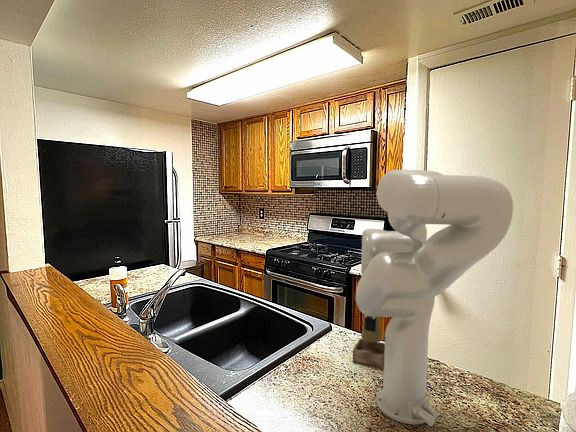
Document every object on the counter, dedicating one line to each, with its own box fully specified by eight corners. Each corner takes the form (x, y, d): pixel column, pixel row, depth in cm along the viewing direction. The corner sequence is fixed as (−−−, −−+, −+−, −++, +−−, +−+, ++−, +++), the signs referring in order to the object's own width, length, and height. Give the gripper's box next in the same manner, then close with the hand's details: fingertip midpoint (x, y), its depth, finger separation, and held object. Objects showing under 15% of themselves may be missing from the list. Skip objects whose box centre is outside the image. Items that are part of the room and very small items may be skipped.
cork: (382, 343, 92) (383, 306, 92) (361, 340, 93) (362, 305, 93) (380, 334, 98) (381, 300, 98) (360, 332, 99) (362, 298, 99)
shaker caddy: (388, 356, 98) (388, 344, 98) (384, 370, 90) (384, 357, 90) (359, 350, 102) (359, 338, 102) (352, 362, 94) (353, 349, 93)
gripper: (381, 276, 86) (379, 341, 86) (390, 265, 100) (388, 321, 101) (354, 273, 89) (352, 335, 90) (367, 263, 104) (365, 316, 105)
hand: (371, 327), depth 96 cm, fingers closed on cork, 3 cm apart
